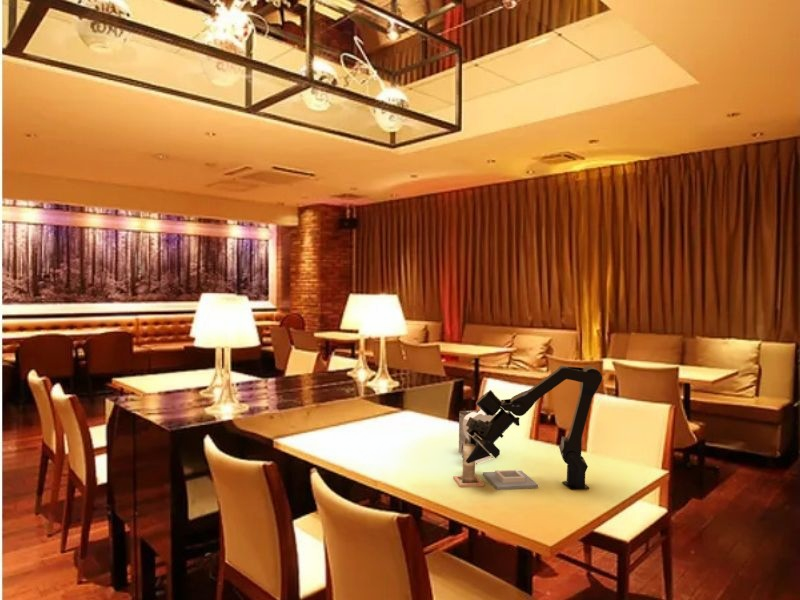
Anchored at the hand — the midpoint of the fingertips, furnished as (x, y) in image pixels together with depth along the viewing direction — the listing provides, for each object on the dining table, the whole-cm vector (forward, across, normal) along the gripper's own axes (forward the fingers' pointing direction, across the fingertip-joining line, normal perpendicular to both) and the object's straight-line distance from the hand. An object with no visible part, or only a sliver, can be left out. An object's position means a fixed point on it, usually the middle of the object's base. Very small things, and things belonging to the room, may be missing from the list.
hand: (464, 460), depth 189 cm
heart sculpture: (-3, -22, +14) cm, 26 cm away
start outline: (+4, 0, +6) cm, 8 cm away
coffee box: (-3, -30, +14) cm, 33 cm away
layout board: (-6, +1, +16) cm, 17 cm away
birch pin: (+4, 0, +6) cm, 7 cm away
